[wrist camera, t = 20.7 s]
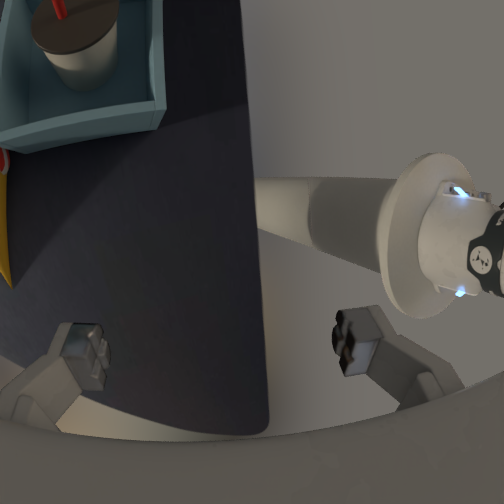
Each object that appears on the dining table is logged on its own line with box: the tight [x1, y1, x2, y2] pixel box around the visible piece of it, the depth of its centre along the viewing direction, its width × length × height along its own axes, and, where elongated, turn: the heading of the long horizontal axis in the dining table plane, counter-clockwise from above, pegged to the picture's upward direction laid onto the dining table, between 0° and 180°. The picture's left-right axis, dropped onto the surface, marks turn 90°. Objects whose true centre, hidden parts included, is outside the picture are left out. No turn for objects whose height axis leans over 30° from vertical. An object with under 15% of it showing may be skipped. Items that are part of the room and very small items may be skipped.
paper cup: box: [31, 0, 119, 91], centre depth 16 cm, size 6×6×17 cm
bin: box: [0, 0, 167, 154], centre depth 20 cm, size 14×16×9 cm
